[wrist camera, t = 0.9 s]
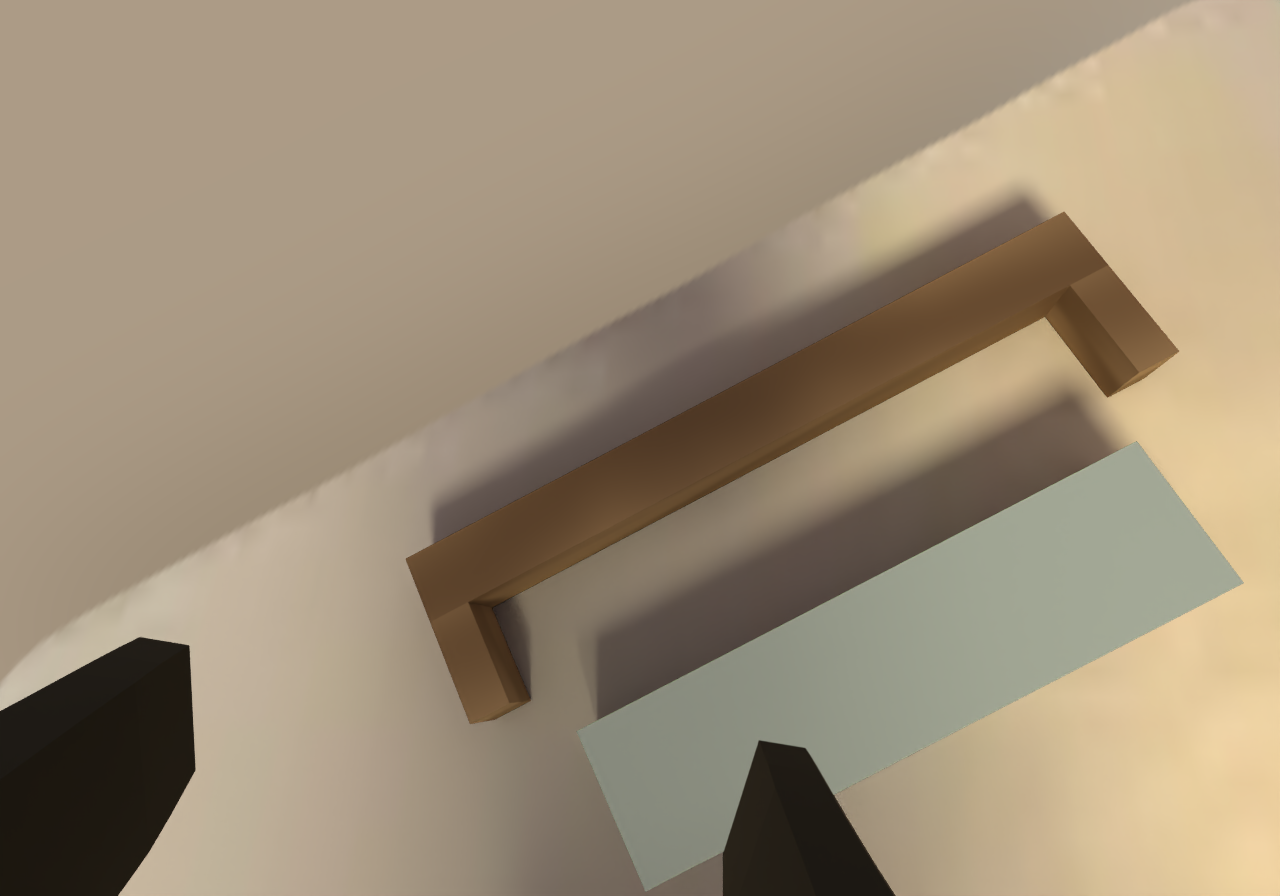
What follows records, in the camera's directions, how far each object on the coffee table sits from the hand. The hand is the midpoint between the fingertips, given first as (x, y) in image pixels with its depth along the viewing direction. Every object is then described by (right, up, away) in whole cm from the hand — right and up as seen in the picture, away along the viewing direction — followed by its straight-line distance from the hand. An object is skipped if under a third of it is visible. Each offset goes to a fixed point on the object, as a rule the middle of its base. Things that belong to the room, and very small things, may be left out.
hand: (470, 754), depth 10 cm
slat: (+9, -2, +12) cm, 15 cm away
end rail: (+6, +3, +14) cm, 15 cm away
